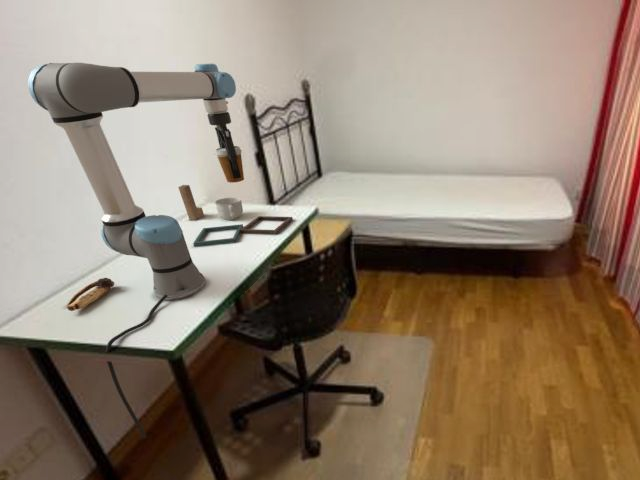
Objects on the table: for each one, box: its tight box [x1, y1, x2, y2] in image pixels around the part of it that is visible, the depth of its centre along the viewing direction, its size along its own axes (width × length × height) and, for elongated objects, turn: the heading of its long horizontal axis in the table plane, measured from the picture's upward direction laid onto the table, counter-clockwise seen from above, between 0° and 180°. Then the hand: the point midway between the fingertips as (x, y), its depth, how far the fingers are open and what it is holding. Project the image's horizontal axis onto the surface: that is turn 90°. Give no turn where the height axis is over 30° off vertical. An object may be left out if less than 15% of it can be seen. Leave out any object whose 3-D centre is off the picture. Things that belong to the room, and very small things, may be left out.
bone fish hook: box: [66, 277, 115, 312], centre depth 142 cm, size 9×5×18 cm
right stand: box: [240, 215, 294, 235], centre depth 190 cm, size 16×16×2 cm
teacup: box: [214, 197, 244, 221], centre depth 199 cm, size 14×11×8 cm
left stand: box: [192, 223, 244, 247], centre depth 183 cm, size 16×16×2 cm
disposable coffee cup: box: [214, 145, 245, 184], centre depth 173 cm, size 10×10×12 cm
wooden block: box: [178, 184, 205, 221], centre depth 200 cm, size 7×3×15 cm, turn 169°
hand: (234, 175), depth 175 cm, fingers closed on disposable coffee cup, 8 cm apart
